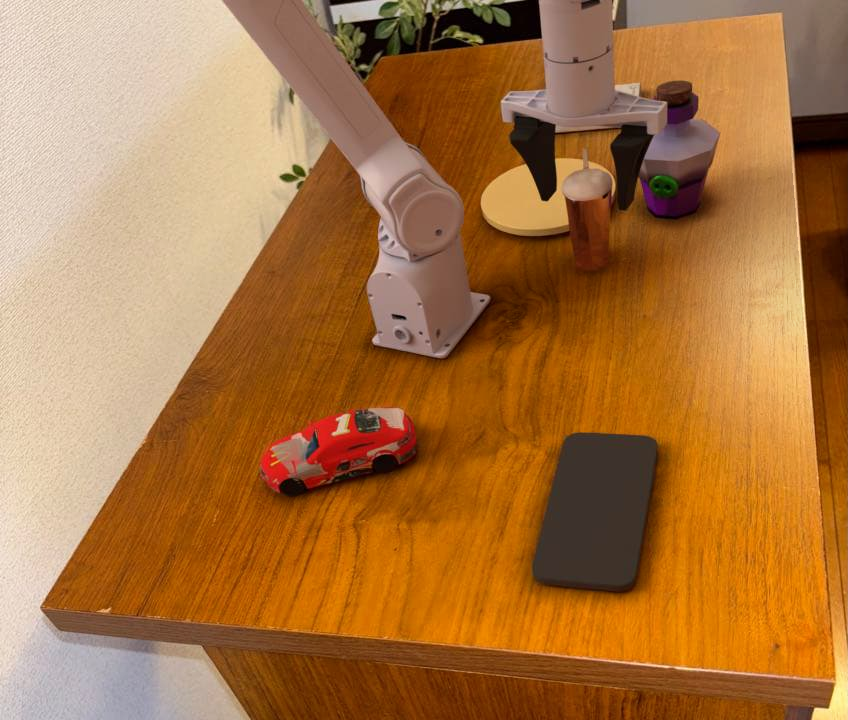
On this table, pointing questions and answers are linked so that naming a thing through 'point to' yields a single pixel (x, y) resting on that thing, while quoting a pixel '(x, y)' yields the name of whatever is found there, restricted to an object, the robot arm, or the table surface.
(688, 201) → the potion bottle
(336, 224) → the table surface
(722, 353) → the table surface
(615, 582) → the phone
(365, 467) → the race car
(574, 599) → the table surface
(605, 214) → the milkshake
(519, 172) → the plate
